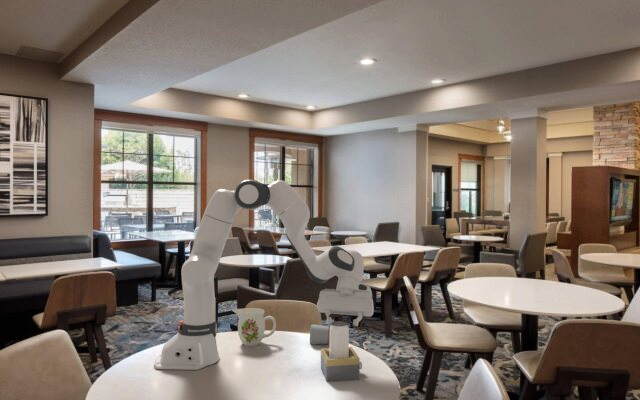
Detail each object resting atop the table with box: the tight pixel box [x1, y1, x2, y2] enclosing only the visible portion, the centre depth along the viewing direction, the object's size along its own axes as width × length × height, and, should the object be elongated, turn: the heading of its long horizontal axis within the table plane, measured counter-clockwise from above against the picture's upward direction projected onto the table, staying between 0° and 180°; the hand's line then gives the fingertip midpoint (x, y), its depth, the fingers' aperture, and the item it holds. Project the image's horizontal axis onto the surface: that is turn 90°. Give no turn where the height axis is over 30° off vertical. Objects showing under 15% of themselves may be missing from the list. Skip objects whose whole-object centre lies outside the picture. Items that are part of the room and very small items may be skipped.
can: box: [329, 320, 350, 359], centre depth 149 cm, size 6×6×12 cm
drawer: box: [320, 346, 363, 383], centre depth 149 cm, size 13×11×7 cm
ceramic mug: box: [309, 324, 330, 345], centre depth 181 cm, size 11×8×8 cm
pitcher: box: [231, 307, 277, 347], centre depth 180 cm, size 11×18×14 cm, turn 94°
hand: (341, 324), depth 152 cm, fingers open, 8 cm apart
